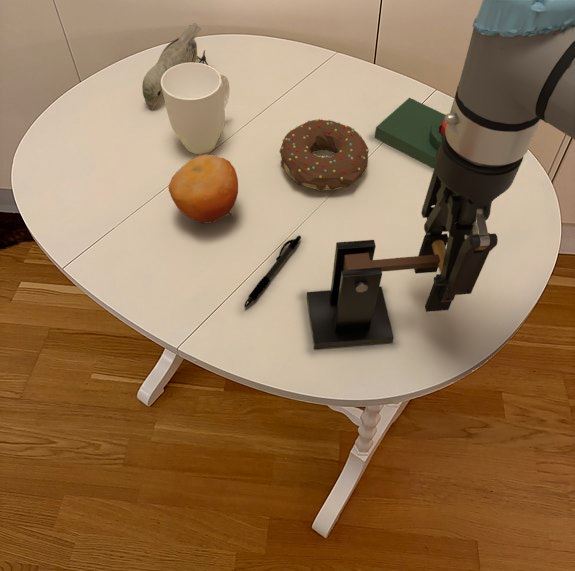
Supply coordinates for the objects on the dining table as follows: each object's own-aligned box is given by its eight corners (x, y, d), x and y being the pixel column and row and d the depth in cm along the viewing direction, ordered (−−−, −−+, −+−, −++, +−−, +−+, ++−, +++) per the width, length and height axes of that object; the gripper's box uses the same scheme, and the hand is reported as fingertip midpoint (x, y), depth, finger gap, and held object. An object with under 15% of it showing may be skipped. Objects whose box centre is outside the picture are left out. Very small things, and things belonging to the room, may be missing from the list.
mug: (203, 170, 93) (194, 106, 84) (161, 147, 96) (148, 83, 86) (249, 130, 99) (245, 66, 89) (208, 110, 102) (200, 46, 92)
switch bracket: (380, 291, 80) (395, 228, 70) (392, 342, 75) (410, 283, 65) (306, 297, 79) (310, 233, 69) (314, 349, 75) (319, 290, 64)
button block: (481, 144, 98) (488, 124, 94) (450, 177, 93) (457, 157, 90) (407, 108, 103) (411, 88, 100) (374, 137, 98) (377, 118, 95)
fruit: (194, 250, 85) (170, 203, 77) (179, 208, 90) (156, 161, 83) (257, 225, 85) (239, 176, 78) (238, 184, 91) (221, 135, 83)
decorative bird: (136, 105, 102) (127, 67, 96) (187, 57, 111) (182, 19, 105) (163, 115, 101) (155, 77, 95) (212, 65, 109) (209, 27, 103)
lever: (441, 249, 71) (445, 236, 69) (452, 283, 68) (457, 270, 67) (341, 258, 71) (342, 245, 69) (347, 292, 68) (349, 279, 66)
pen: (293, 236, 85) (293, 230, 84) (303, 240, 85) (303, 235, 84) (238, 305, 78) (237, 300, 77) (249, 311, 78) (248, 306, 77)
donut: (264, 154, 96) (264, 129, 91) (337, 128, 99) (340, 103, 95) (308, 212, 88) (309, 188, 84) (385, 182, 92) (390, 157, 88)
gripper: (421, 83, 60) (386, 235, 79) (471, 218, 49) (417, 355, 68) (494, 80, 60) (442, 231, 79) (559, 212, 50) (481, 350, 69)
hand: (430, 288), depth 74 cm, fingers closed on lever, 5 cm apart
